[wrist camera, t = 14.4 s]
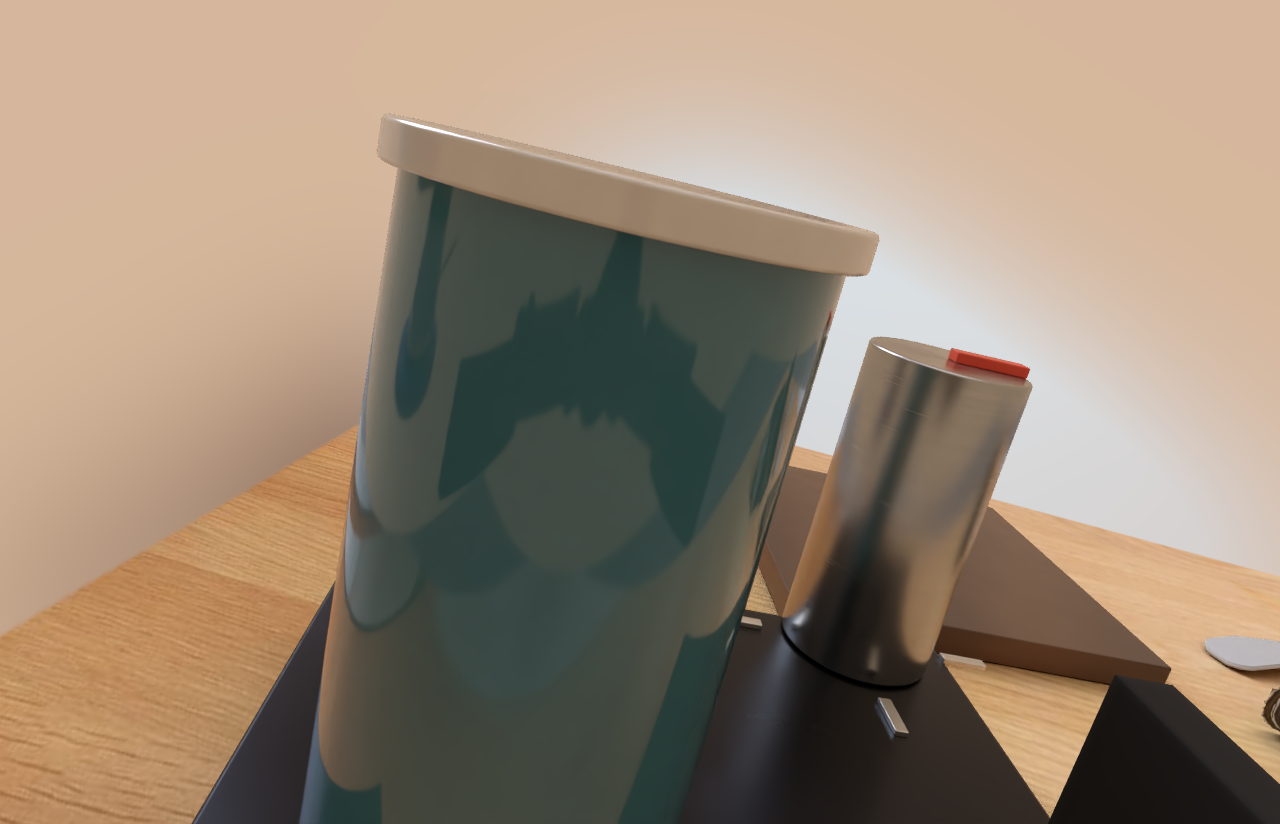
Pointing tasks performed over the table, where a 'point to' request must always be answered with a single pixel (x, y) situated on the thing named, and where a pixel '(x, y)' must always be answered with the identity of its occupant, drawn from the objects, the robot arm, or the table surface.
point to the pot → (559, 482)
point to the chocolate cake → (1272, 709)
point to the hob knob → (902, 507)
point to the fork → (1245, 652)
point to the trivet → (988, 599)
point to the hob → (727, 745)
